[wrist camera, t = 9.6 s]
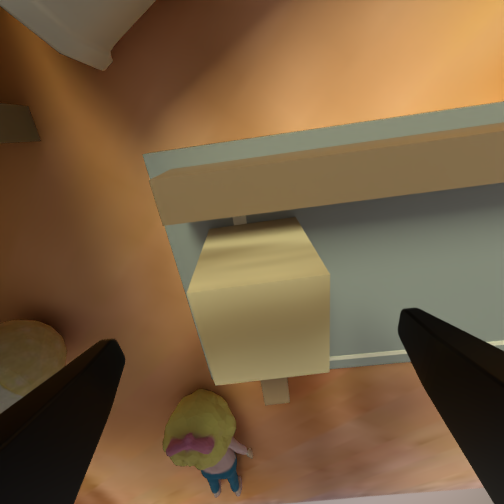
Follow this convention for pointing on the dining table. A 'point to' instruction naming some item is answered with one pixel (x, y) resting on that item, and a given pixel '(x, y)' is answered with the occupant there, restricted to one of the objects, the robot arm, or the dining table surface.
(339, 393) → the dining table surface
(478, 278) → the board
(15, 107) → the book
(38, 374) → the hammer
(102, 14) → the tube
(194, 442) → the figurine
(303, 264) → the wooden block with peg
